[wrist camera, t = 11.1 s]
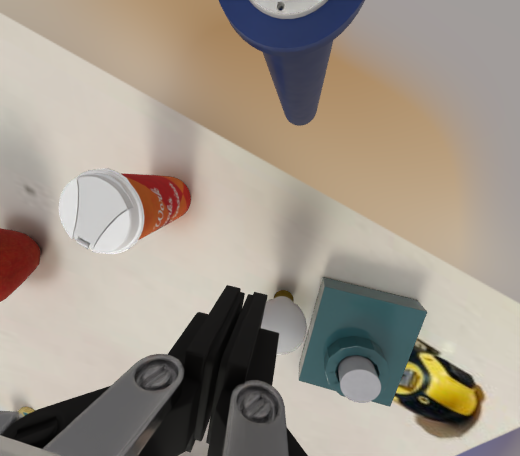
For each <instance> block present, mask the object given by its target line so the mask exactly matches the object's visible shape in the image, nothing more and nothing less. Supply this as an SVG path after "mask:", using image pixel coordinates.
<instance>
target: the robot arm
mask: <svg viewBox="0 0 520 456" xmlns="http://www.w3.org/2000/svg"><path fill="white" fill-rule="evenodd" d="M249 1H250V2H251V3H252V4H253V6H254V7H256V8H257V9H258V10H260V11H261V12H262V13H264V14H266V15H269V16H271V17H274V18H279V19H295V18H299V17H303V16H306V15H308V14H310V13H312V12H314V11H316V10H317V9H318V8H320V7H321V6H323V5H324V4H325V3H326V2H327V1H328V0H249ZM280 9H283V10H282V11H279V10H280ZM243 300H244V293H242V292H240V288H237V287H233V286H228V285H227V286H226V288H225V289H224V291H223V292H222V294H221V296H220V297H219V299H218V300H217V302H216V304H215V305H214V307H213V308H212V310H211V312H210V313H209V315H208V314H205V313H201V312H198V313H197V314H196V315H195V316H194V318H193V319H192V321H191V322H190V324H189V325H188V326H187V328H186V329H185V331H184V332H183V333H182V335H181V336H180V338H179V339H178V340H177V342H176V343H175V345H174V346H173V348H172V349H171V350H170V352H169V353H168V355H167V354H156V355H150V356H148V357H145V358H143V359H141V360H140V361H138V362H137V363H135V364H134V365H133V366H132V367H131V368H130V369H129V370H128V371H127V372H126V373H125V374H123V375H122V376H121V377H120V378H119V379H118V380H117V381H116V382H115V383H114V384H113V385H111V386H109V387H106V388H103V389H100V390H97V391H94V392H90V393H87V394H84V395H81V396H78V397H75V398H72V399H69V400H66V401H63V402H60V403H57V404H54V405H51V406H47V407H44V408H41V409H38V410H36V411H34V412H31V413H29V414H27V415H25V416H24V417H19V412H11V411H0V456H178V455H180V454H182V453H184V452H185V451H188V452H191V450H192V447H193V445H194V442H195V440H199V441H202V438H203V436H204V433H205V430H206V428H207V425H208V422H209V420H210V423H209V429H208V435H207V441H206V443H208V444H209V449H208V455H207V456H308V455H307V454H306V453H305V451H304V450H303V449H302V447H301V446H300V445H299V443H298V442H297V441H296V439H295V438H294V437H293V435H292V434H291V433H290V431H289V430H288V429H287V427H286V418H285V406H284V402H283V399H282V397H281V395H280V394H279V392H278V391H277V390H276V389H275V388H274V387H273V386H272V382H273V375H274V368H275V361H276V354H277V347H278V340H279V333H278V332H274V331H270V330H266V329H262V328H261V324H262V319H263V315H264V310H265V305H266V300H267V295H265V294H261V293H257V292H254V294H253V295H250V294H248V296H247V299H246V301H245V303H244V306H243ZM242 306H243V308H242ZM210 417H211V418H210Z"/></svg>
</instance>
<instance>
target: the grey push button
mask: <svg viewBox="0 0 520 456" xmlns="http://www.w3.org/2000/svg"><path fill="white" fill-rule="evenodd" d="M338 376H339V382H340V388H341V391H342V392H343V394H344V395H345V396H346V397H347V398H348V399H350V400H352V401H354V402H359V403H365V402H369V401H372V400H374V399H375V398H376V397H377V396H378V395H379V393H380V391H381V383H380V380H379V377H378V374H377V372H376V369H375V366H374V364H373V363H372V362H371V361H370V360H369V359H367V358H365V357H362V356H357V355H354V356H349V357H347V358H345V359H343V360H342V361H341V362H340V364H339V366H338Z"/></svg>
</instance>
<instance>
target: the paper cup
mask: <svg viewBox="0 0 520 456" xmlns="http://www.w3.org/2000/svg"><path fill="white" fill-rule="evenodd" d="M190 202H191V196H190V192H189V190H188V188H187V186H186V185H185V184H184V183H183V182H182V181H181V180H179V179H177V178H174V177H169V176H156V175H138V174H120V173H118V172H116V171H114V170H111V169H93V170H88V171H86V172H83V173H82V174H80V175H79V176H78V177H76V178H74V179H73V180H71V181H70V182H69V183H68V184H67V185H66V186H65V188H64V189H63V191H62V193H61V196H60V200H59V215H60V219H61V222H62V225H63V227H64V229H65V231H66V232H67V234H68V235H69V237H70V238H71V239H75V240H77V243H78V244H80V245H82V246H83V247H85V248H87V249H88V248H89V249H91V250H93V251H92V252H95V253H105V254H117V253H121V252H124V251H126V250H128V249H130V248H131V247H132V246H133V245H134V244H135V243H136V242H137V241H138V240H139V239H141V238H143V237H145V236H147V235H148V234H150V233H152V232H154V231H156V230H158V229H159V228H161V227H163V226H165V225H167V224H169V223H170V222H172V221H174V220H176V219H177V218H179V217H181V216H182V215H183V214H185V213H186V211H187V210H188V208H189V206H190Z"/></svg>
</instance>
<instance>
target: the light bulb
mask: <svg viewBox="0 0 520 456" xmlns="http://www.w3.org/2000/svg"><path fill="white" fill-rule="evenodd" d="M261 328H262V329H266V330H270V331H274V332H278V333H279V340H278V347H277V354H287V353H290V352H292V351H294V350H295V349H297V348H298V347H299V346H300V344H301V343H302V342H303V340H304V338H305V334H306V319H305V316H304V314H303V312H302V310H301V309H300V308H299V307H298V305H296V304H295V303H294V302H293V296H292V294H291V293H290V292H288V291H286V290H280V291H278V292H277V293H276V294H275V296H274V298H273V299H271V300H268V301H267V302H266V305H265V310H264V315H263V319H262V324H261Z"/></svg>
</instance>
